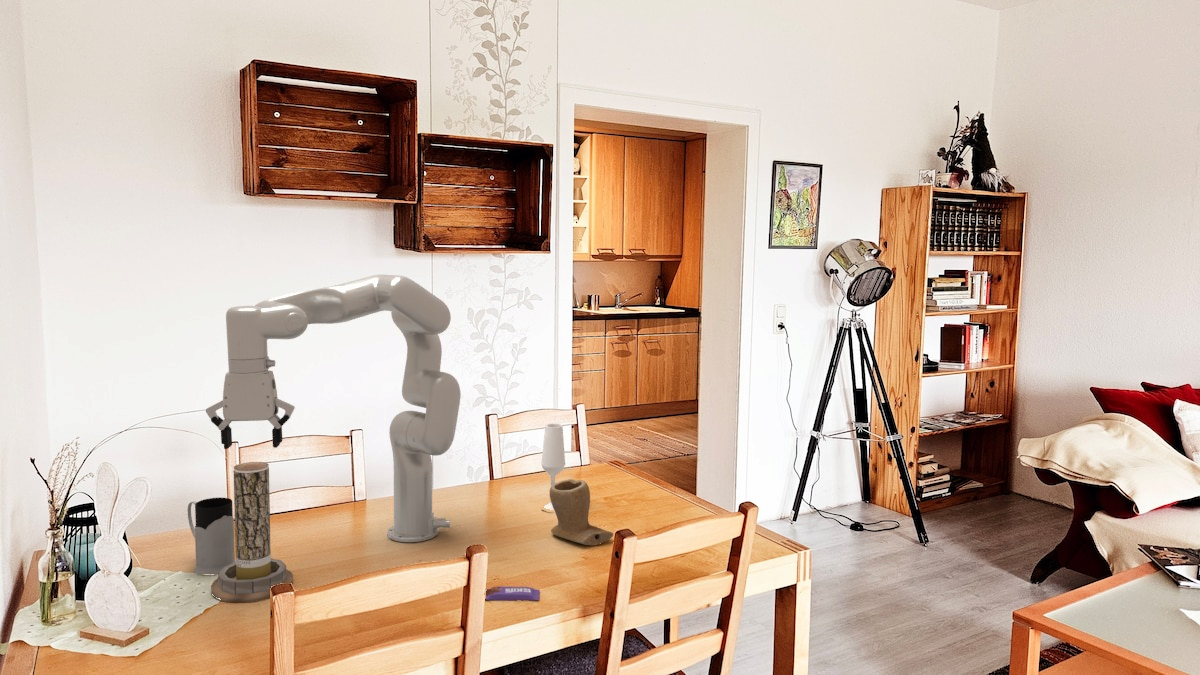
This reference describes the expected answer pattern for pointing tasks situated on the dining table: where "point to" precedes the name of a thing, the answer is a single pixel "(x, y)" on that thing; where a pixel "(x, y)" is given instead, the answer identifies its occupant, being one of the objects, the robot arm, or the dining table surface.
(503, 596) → the snack package
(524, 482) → the dining table surface
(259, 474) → the paper tube
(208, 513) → the glass holder
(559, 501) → the clay pipe bowl
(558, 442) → the champagne flute
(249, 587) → the roll stand
